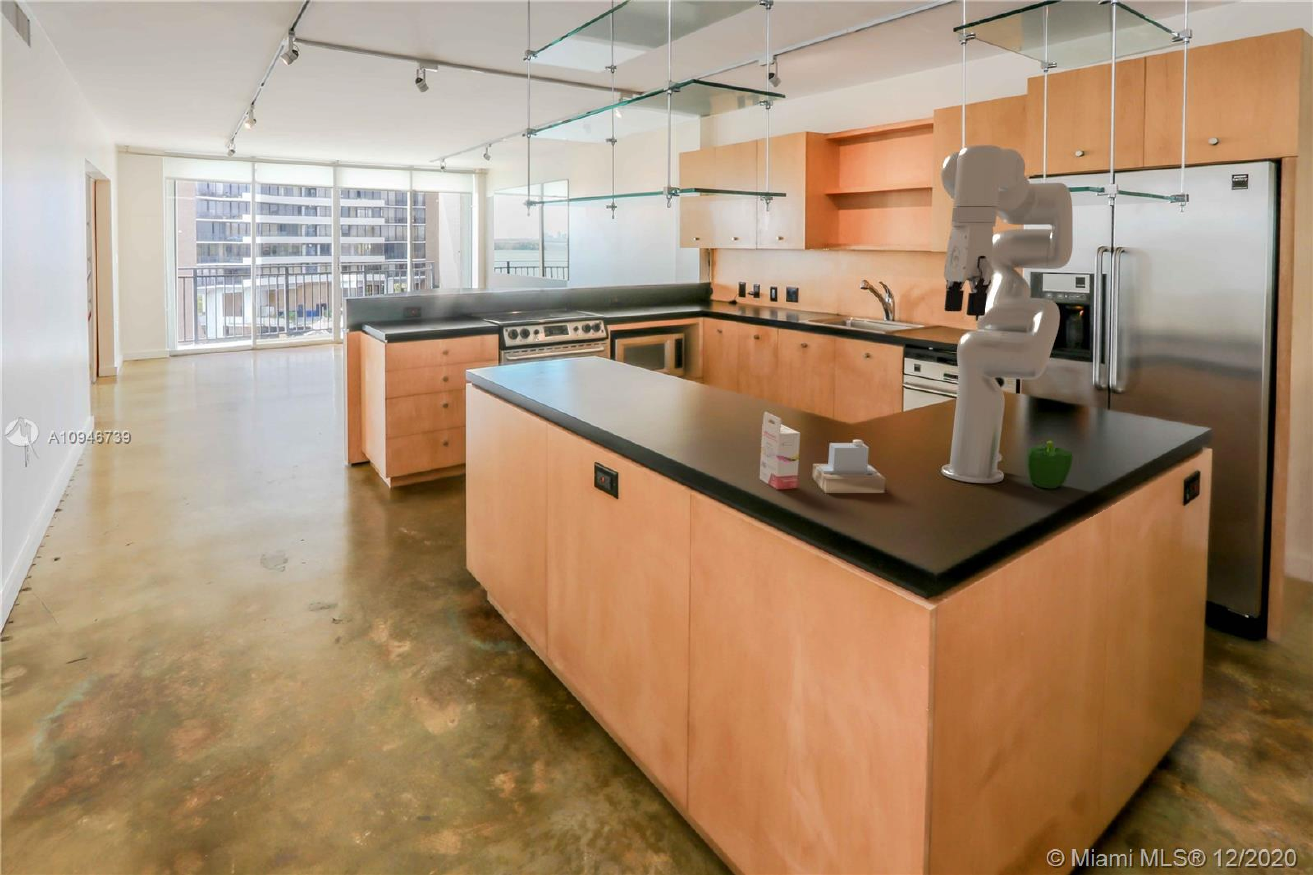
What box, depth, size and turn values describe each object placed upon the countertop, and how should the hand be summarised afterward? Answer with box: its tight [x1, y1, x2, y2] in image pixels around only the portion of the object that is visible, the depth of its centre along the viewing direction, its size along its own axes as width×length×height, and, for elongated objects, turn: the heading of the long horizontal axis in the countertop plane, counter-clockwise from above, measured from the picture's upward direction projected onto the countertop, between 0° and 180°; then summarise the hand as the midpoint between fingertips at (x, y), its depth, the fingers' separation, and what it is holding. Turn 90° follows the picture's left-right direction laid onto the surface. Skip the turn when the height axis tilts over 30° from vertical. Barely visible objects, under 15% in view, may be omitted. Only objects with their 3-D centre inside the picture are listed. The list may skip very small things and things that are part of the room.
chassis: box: [811, 463, 886, 494], centre depth 163 cm, size 11×12×3 cm
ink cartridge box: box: [759, 411, 801, 490], centre depth 162 cm, size 9×5×15 cm, turn 18°
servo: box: [819, 439, 878, 475], centre depth 162 cm, size 4×11×10 cm, turn 93°
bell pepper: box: [1026, 440, 1074, 489], centre depth 164 cm, size 8×8×10 cm
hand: (963, 313), depth 146 cm, fingers open, 9 cm apart
